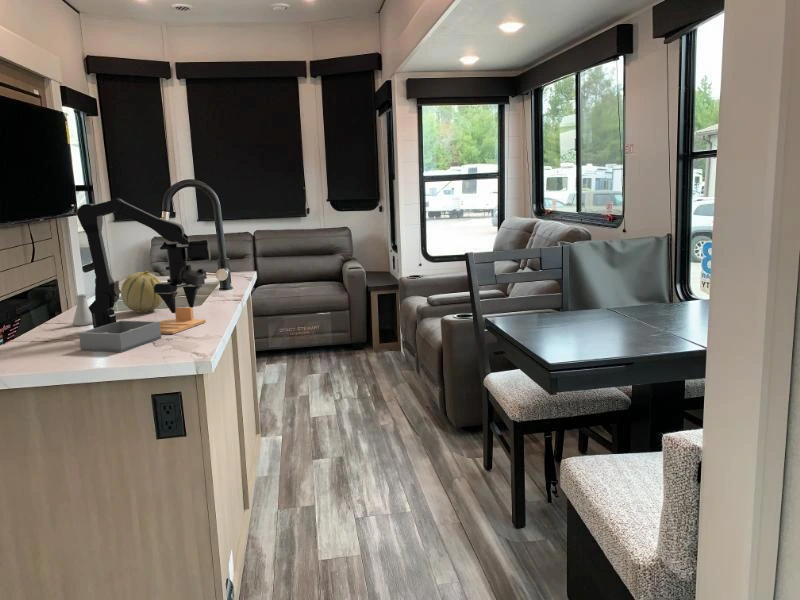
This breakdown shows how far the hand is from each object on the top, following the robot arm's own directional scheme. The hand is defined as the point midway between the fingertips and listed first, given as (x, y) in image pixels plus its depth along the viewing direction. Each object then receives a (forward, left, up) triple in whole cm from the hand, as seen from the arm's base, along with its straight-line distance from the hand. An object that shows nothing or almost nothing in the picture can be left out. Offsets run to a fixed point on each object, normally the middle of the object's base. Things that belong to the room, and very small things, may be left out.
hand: (182, 310), depth 206 cm
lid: (0, -7, -4) cm, 8 cm away
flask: (-36, -5, -4) cm, 37 cm away
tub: (0, -28, -4) cm, 28 cm away
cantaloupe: (-29, +16, -4) cm, 33 cm away
